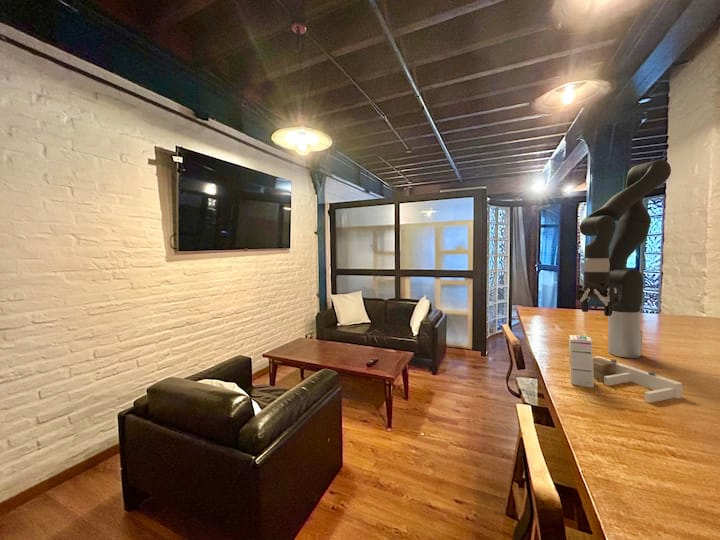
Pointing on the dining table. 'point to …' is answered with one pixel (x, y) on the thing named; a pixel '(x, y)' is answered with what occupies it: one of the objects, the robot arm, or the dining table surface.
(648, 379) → the notch rail
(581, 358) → the syrup box
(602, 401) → the dining table surface
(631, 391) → the dining table surface
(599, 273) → the robot arm
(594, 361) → the walnut block
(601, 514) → the dining table surface
